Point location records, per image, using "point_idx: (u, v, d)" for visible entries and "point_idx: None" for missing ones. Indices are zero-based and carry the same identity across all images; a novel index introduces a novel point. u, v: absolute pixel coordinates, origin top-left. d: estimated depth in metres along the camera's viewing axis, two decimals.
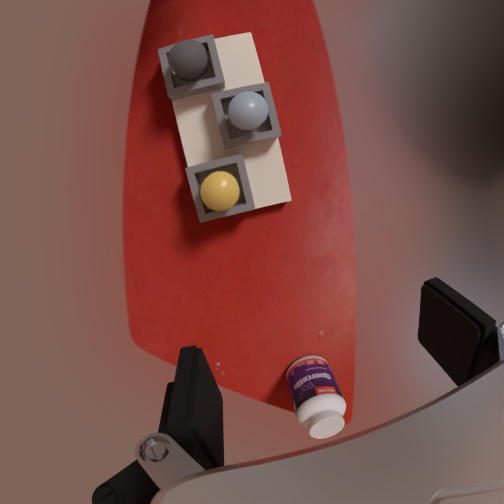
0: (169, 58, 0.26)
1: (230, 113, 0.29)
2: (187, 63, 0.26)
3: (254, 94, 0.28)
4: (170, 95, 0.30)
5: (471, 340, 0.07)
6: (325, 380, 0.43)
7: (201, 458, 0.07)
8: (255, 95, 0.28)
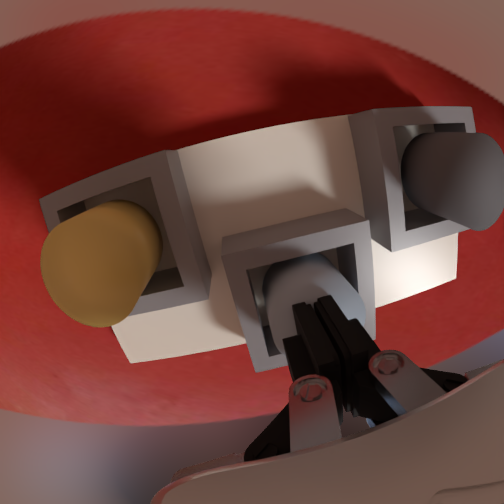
0: (483, 137, 0.09)
1: (315, 286, 0.11)
2: (469, 182, 0.09)
3: None
4: (375, 115, 0.11)
5: (343, 366, 0.08)
6: None
7: None
8: None
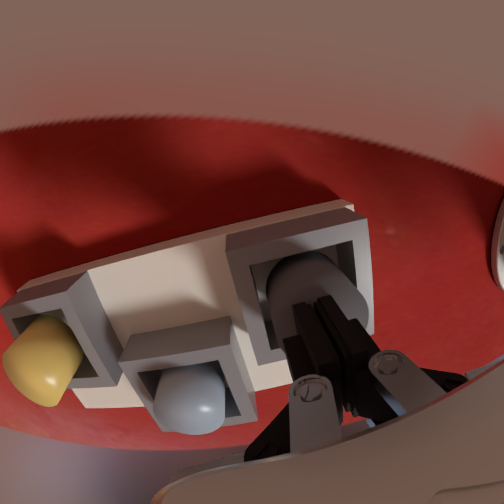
0: (325, 286, 0.11)
1: (175, 392, 0.14)
2: None
3: (219, 421, 0.15)
4: (229, 257, 0.14)
5: (343, 366, 0.08)
6: None
7: None
8: (217, 422, 0.15)
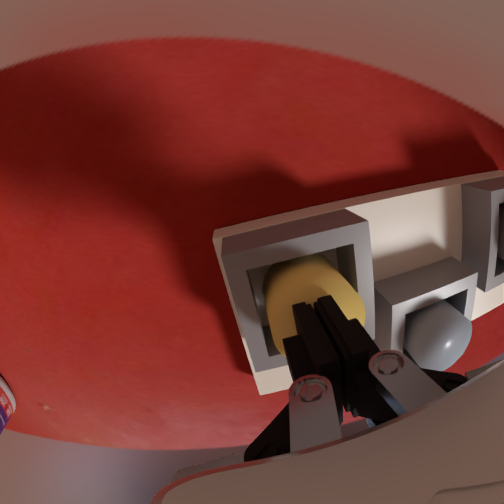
0: None
1: (452, 321, 0.14)
2: None
3: (462, 349, 0.14)
4: (491, 196, 0.13)
5: (343, 365, 0.08)
6: None
7: None
8: (461, 351, 0.14)
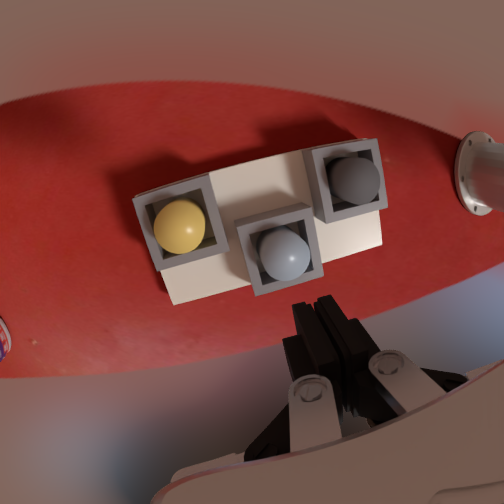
0: (359, 159, 0.24)
1: (282, 237, 0.25)
2: (350, 182, 0.24)
3: (306, 263, 0.26)
4: (313, 153, 0.24)
5: (343, 365, 0.08)
6: None
7: None
8: (304, 265, 0.26)
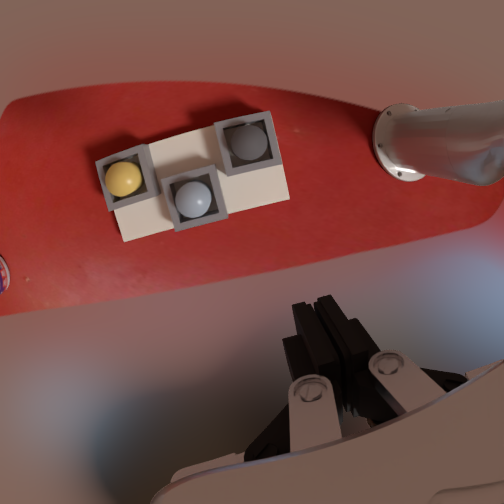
0: (247, 126, 0.32)
1: (188, 184, 0.33)
2: (240, 143, 0.32)
3: (207, 205, 0.34)
4: (215, 125, 0.33)
5: (343, 365, 0.08)
6: None
7: None
8: (206, 205, 0.34)
